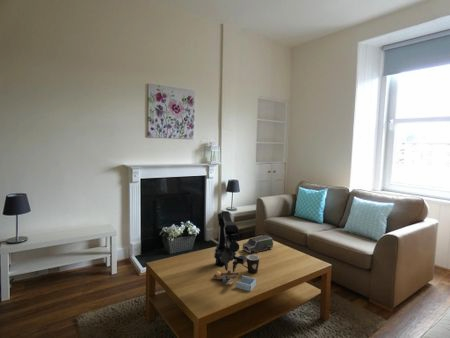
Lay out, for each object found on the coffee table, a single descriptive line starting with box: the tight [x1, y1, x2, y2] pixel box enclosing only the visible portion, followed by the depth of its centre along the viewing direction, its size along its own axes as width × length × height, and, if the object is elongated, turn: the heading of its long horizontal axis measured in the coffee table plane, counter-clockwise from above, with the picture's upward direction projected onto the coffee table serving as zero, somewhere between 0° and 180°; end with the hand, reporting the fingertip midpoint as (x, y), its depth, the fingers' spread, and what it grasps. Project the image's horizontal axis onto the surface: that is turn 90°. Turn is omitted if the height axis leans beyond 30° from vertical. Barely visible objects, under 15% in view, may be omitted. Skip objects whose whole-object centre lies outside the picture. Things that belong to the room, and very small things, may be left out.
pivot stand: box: [221, 269, 232, 285], centre depth 171 cm, size 3×8×5 cm, turn 153°
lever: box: [212, 271, 240, 285], centre depth 168 cm, size 16×13×3 cm
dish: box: [235, 274, 257, 292], centre depth 166 cm, size 9×9×4 cm
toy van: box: [241, 234, 274, 255], centre depth 222 cm, size 11×25×10 cm, turn 121°
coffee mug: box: [241, 254, 260, 275], centre depth 184 cm, size 12×9×10 cm
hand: (230, 271), depth 161 cm, fingers open, 4 cm apart
